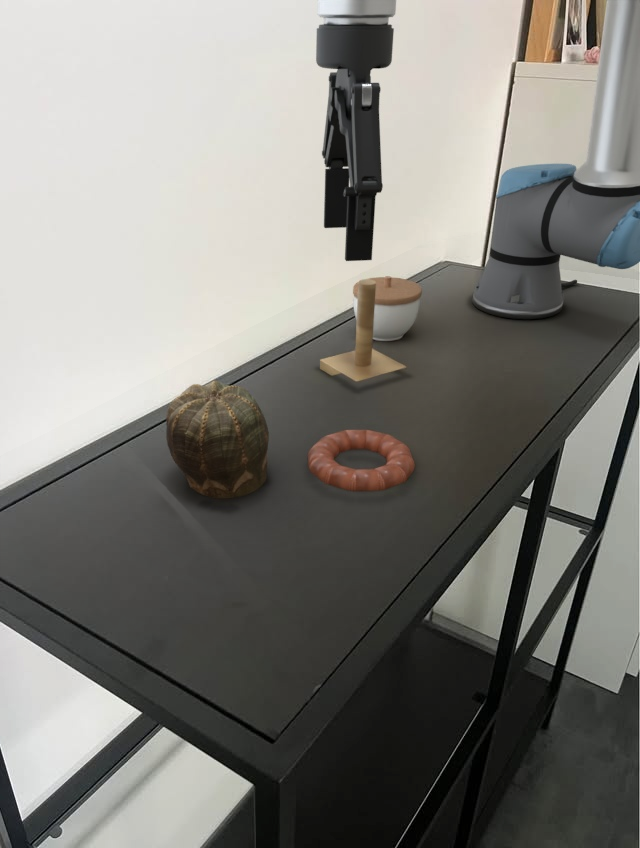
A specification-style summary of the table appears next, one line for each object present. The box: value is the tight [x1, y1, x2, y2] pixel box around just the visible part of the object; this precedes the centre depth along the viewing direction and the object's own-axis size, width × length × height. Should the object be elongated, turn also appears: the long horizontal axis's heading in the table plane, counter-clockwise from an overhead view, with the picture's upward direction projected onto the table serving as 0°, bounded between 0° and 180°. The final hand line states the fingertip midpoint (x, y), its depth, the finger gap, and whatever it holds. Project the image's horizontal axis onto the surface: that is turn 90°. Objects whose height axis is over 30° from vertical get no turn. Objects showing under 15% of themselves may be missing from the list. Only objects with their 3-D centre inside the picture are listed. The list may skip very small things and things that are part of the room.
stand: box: [319, 278, 408, 382], centre depth 108 cm, size 9×9×14 cm
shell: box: [165, 380, 270, 499], centre depth 83 cm, size 11×11×12 cm
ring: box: [307, 429, 416, 492], centre depth 88 cm, size 12×12×3 cm
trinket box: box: [352, 275, 423, 342], centre depth 122 cm, size 11×11×9 cm
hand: (346, 242), depth 86 cm, fingers open, 13 cm apart
